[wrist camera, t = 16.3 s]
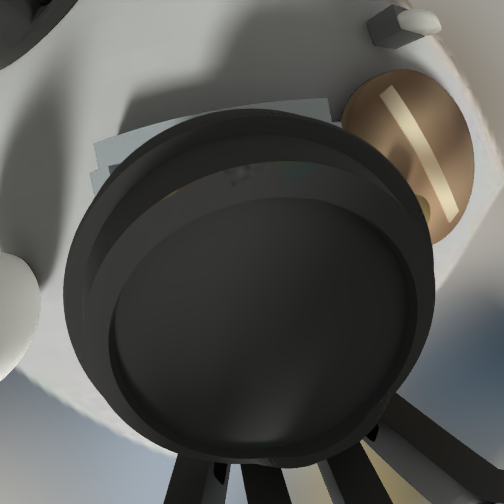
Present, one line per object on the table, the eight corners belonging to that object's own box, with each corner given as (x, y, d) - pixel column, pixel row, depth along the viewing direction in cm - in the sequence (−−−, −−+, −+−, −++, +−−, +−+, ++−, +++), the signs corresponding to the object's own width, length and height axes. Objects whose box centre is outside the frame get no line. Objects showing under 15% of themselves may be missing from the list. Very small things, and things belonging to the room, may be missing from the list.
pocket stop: (105, 149, 15) (84, 147, 12) (314, 107, 17) (336, 97, 14) (123, 226, 17) (106, 240, 14) (326, 182, 19) (350, 188, 15)
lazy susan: (297, 138, 17) (332, 130, 12) (407, 50, 15) (449, 34, 10) (396, 273, 21) (436, 301, 16) (474, 175, 20) (514, 183, 15)
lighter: (362, 21, 15) (408, -10, 9) (391, 27, 15) (439, 3, 9) (369, 44, 16) (420, 18, 9) (398, 49, 16) (450, 29, 10)
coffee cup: (136, 197, 17) (-46, 269, 3) (257, 132, 17) (404, 17, 3) (201, 308, 20) (203, 513, 5) (312, 250, 20) (473, 380, 5)
